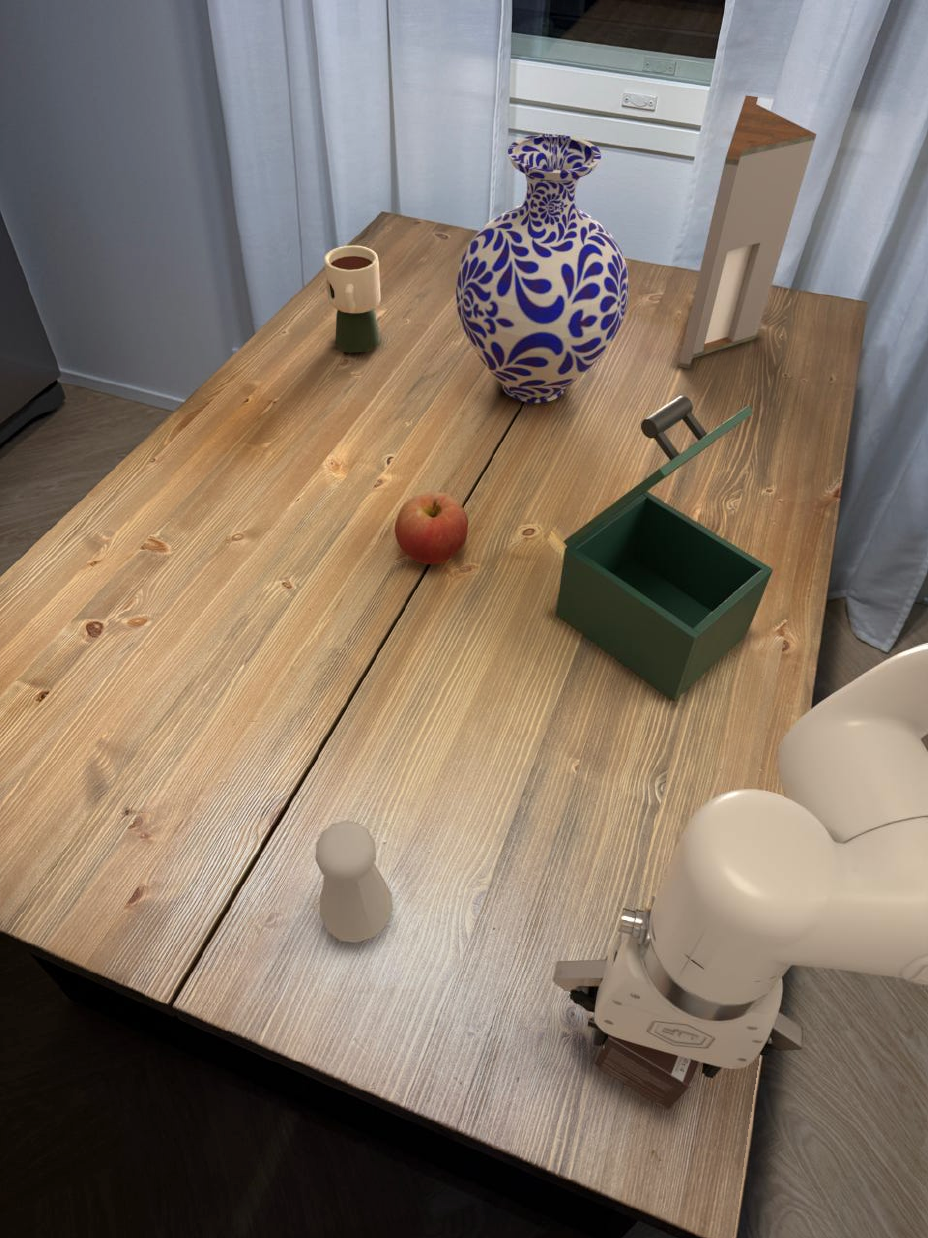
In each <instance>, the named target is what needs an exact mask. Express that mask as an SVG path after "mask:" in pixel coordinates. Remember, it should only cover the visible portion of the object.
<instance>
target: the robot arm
mask: <svg viewBox="0 0 928 1238" xmlns="http://www.w3.org/2000/svg"><path fill="white" fill-rule="evenodd" d="M927 735H928V642H925V643H922V644H919V645H916V646H914V647H911V648H909V649H906V650H903V651H900V652H899V653H896V654H895V655H893V656H890V658H887V659H885V660H883V661H882V662H880V663H878V664H877V665H875V666H874V667H872V668H870V669H869V670H868V671H866V672H864V673H863V674H861V675H860V676H858V677H856V678H855V679H854V680H852V681H851V682H849V683H847V684H846V685H843V686H842V687H841V688H839V689H837V690H836V691H834V692H833V693H831V694H830V695H828V696H827V697H826V698H824V699H823V700H821V701H820V702H818V703H816V705H814V706H813V707H812V708H811V709H809V710H808V711H807V712H806V713H805V714H803V715H802V716H801V717H799V718H798V719H797V720H796V721H795V723H794V724H792V726H791V727H790V728H789V729H788V731H787V732H786V734H785V735H784V736H783V738H782V740H781V742H780V743H779V747H778V750H777V754H776V769H777V774H778V779H779V782H780V785H781V787H782V790H783V794H784V795H785V796H784V795H782V794H779V793H776V792H773V791H770V790H769V791H768V790H764V789H757V788H741V789H740V788H739V789H735V790H730V791H727V792H724V793H721V794H719V795H716V796H713V798H710V799H709V800H707V801H706V802H705V803H703V804H702V805H701V806H700V807H699V808H698V809H697V810H696V811H694V813H693V815H692V816H691V817H690V818H689V820H688V822H687V824H686V826H685V828H684V830H683V832H682V834H681V836H680V838H679V841H678V843H677V846H676V848H675V850H674V853H673V855H672V858H671V860H670V862H669V865H668V867H667V868H666V869H667V870H666V872H665V874H664V877H663V879H662V881H661V884H660V887H659V889H658V891H657V893H656V895H655V896H653V895H652V896H651V898H650V901H649V903H648V905H647V906H642V909H639V908H635V910H632V909H629V908H624V907H622V908H621V911H620V917H619V921H618V928H617V934H616V935H615V936H614V938H613V939H612V940H611V943H610V945H609V947H608V948H607V951H606V952H605V955H604V959H588V960H587V959H585V960H584V959H583V960H558V961H556V962H555V965H554V969H553V970H554V971H553V975H552V980H551V981H552V982H553V983H554V984H555V985H556V986H558V987H559V988H560V989H562V990H563V991H564V992H568V993H570V994H569V999H570V1000H571V1001H572V1002H573V1003H574V1004H577V1005H578V1006H580V1007H581V1008H583V1009H584V1010H586V1011H587V1012H588V1015H587V1025H586V1026H587V1027H588V1028H592V1029H595V1031H594V1037H593V1046H597V1047H601V1048H602V1046H603V1045H604V1044H605V1042H606V1040H607V1038H608V1035H611V1036H614V1037H617V1038H620V1039H623V1040H626V1041H629V1042H632V1043H636V1044H639V1045H643V1046H646V1047H650V1048H653V1049H656V1050H660V1051H663V1052H667V1053H670V1054H674V1055H678V1056H681V1057H685V1058H688V1059H692V1060H696V1061H699V1062H700V1063H702V1068H701V1074H702V1075H704V1078H705V1077H706V1078H709V1079H712V1080H713V1079H714V1077H716V1076H717V1074H718V1073H719V1072H720V1071H721V1069H723V1068H724V1069H729V1070H730V1069H731V1070H741V1069H744V1068H746V1067H748V1066H749V1065H751V1064H752V1063H753V1062H754V1061H755V1060H756V1059H757V1058H758V1056H762V1057H768V1056H769V1055H772V1054H774V1050H777V1051H778V1052H783V1051H784V1052H785V1051H801V1050H802V1049H803V1040H804V1039H803V1036H804V1035H803V1031H804V1028H803V1027H802V1026H800V1025H799V1024H798V1023H796V1022H795V1021H793V1020H792V1019H790V1018H789V1017H787V1016H786V1015H784V1014H783V1013H781V1012H780V1008H781V1005H782V1000H783V991H784V985H783V984H784V983H783V976H785V974H786V973H787V972H788V970H789V969H790V968H791V967H792V966H797V967H807V968H817V969H827V970H835V971H843V972H845V971H846V972H850V973H851V972H853V973H859V974H866V975H874V976H882V977H888V978H897V979H903V980H905V981H907V982H909V983H911V984H915V985H922V986H928V749H927V748H926V745H925V744H924V742H923V741H922V738H924V737H925V736H927Z"/></svg>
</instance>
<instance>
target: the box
mask: <svg viewBox="0 0 928 1238" xmlns="http://www.w3.org/2000/svg"><path fill="white" fill-rule="evenodd" d="M700 1063H701V1062H699V1061H696V1060H692V1059H688V1058H685V1057H681V1056H678V1055H674V1054H670V1053H667V1052H663V1051H660V1050H656V1049H653V1048H650V1047H646V1046H643V1045H639V1044H636V1043H632V1042H629V1041H626V1040H623V1039H620V1038H617V1037H614V1036H611V1035H608V1038H607V1040H606V1042H605V1044H604V1045H601V1049H600V1052H599V1054H598V1055H597V1057H596V1060H595V1061H594V1065H595V1067H596V1068H598V1069H600V1071H603V1072H604V1073H606V1074H608V1075H609V1076H611V1077H612V1078H615V1079H617V1080H618V1081H620V1082H621V1083H623V1084H625V1085H627V1086H628V1087H629V1088H631V1089H633V1090H634V1091H636V1092H637V1093H639V1094H641V1095H643V1096H645V1097H646V1098H647V1099H649V1100H651V1101H653V1102H654V1103H655V1104H657V1105H659V1106H661V1107H662V1108H664V1109H666V1110H668V1111H669V1110H671V1109H672V1107H673V1106H674V1105H675V1104H676V1103H677V1102H678V1101H679V1100H680V1098H681V1097H682V1096H683V1094H685V1093H686V1091H688V1089H690V1087H691V1086H692V1084H693V1080H694V1079H695V1077H696V1073H697V1070H698V1068H699V1065H700Z"/></svg>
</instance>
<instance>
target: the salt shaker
mask: <svg viewBox="0 0 928 1238" xmlns="http://www.w3.org/2000/svg"><path fill="white" fill-rule="evenodd" d="M376 845H377V844H376V841H375V839H374V837H373V835H372V834H371V832H370V830H369V828H368V827H366V826H364V825H362V824H361V823H359V822H357V821H349V820H342V821H339V822H335V823H332V824H331V825H329V826H328V827H326V828H325V829H324V830H323V831H322V832H321V833H320V836H319V837H318V839H317V841H316V846H315V862H316V864H317V866H318V868H319V870H320V872H321V874H322V875H323V882H322V887H321V892H320V897H319V908H318V909H319V912H318V913H319V917H320V919H321V922H322V923H323V925H324V927H325V929H326V931H327V932H328V933H329V934H331V935H332V936H334V937H335V938H336V939H338V940H339V941H342V942H348V943H355V944H356V943H357V944H358V943H360V942H364V941H367V940H371V939H373V938H374V937H375V936H377V935H378V933H380V932H381V931H382V930H383V929H385V927H386V925H387V923H388V921H389V920H390V917H391V915H392V913H393V894H392V892H391V890H390V888H389V886H388V885H387V883H386V880H385V878H384V877H383V875H382V874H381V872H380V870H379V869H378V867H377V865H376V864H375V863H376V859H377V853H376V850H377V847H376Z"/></svg>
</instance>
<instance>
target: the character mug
mask: <svg viewBox="0 0 928 1238" xmlns="http://www.w3.org/2000/svg"><path fill="white" fill-rule="evenodd" d="M323 257H324V258H323V259H324V261H323V262H324V271H325V280H326V282H325V283H326V291H327V300H328V302H329V304H330V305H331V306H332V307H333V308H334V309H335V310H337V311H336V319H335V320H336V321H335V345H336V347H337V348H338V349H339V350H340V351H343V352H344V353H363V352H364V353H365V352H368V351H372V350H374V349H376V348H377V347H378V346H379V345H380V343H381V336H380V330H379V329H380V328H379V325H378V319H377V315H376V310H375V309H376V308H377V307H378V306H379V305H380V303H381V280H380V267H379V266H380V265H379V256H378V254H377V253H376V252H375V251H374V250H373V249H371V248H368V247H366V246H362V245H343V246H340V247H336V248H333V249H331V250H329V251H328V252H327V253H326V254H325V255H324V256H323Z"/></svg>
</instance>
